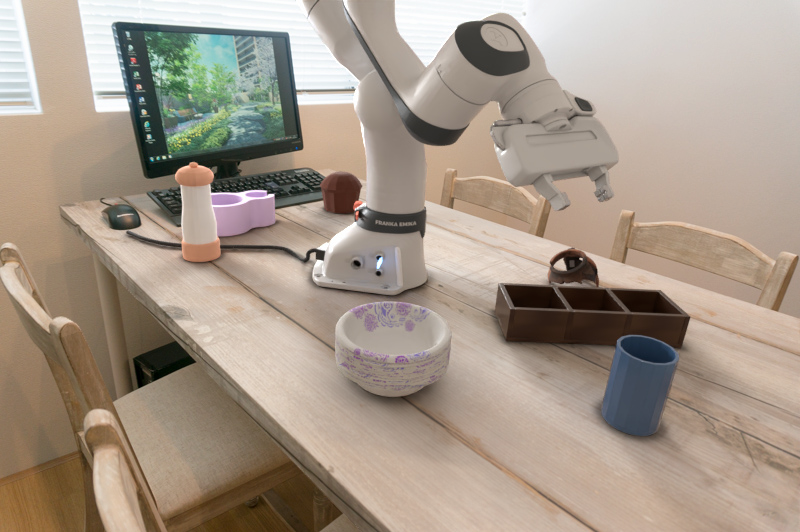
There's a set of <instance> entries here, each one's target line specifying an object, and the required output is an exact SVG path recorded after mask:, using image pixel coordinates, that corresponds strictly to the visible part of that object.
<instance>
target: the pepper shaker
mask: <svg viewBox="0 0 800 532" xmlns="http://www.w3.org/2000/svg"><path fill="white" fill-rule="evenodd" d="M174 175H175V176H174V178H175V181H176V183H177V184H178V185H180V194H181V220H180V221H181V222H180V225H181V234H182V239H181V244H182V248H181V251H182V253H181V254H182V258H183V260H185V261H188V262H192V263H206V262H210V261H211V262H212V261H215V260H216V259H218V258H220V257H221V249H220V245H221V241H220V238H219V236H217V222H216V218H215V214H214V210H213V206H212V199H211V193H212V189H211V184H212V183H213V181H214V178H215V175H214V172H213V171H212V169H210V168H208V167H206V166H204V165H199V163H198V162H195V161H192V162H189V164H188V165H185V166H182V167H180V168H178V169H177V171H176V172H175V174H174Z"/></svg>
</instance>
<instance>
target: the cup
mask: <svg viewBox="0 0 800 532" xmlns="http://www.w3.org/2000/svg"><path fill="white" fill-rule="evenodd" d="M679 362H680V355H679V352H678V351H677V350H676V348H673V347H671V346H670V345H668V344H666V343H665V342H662V341H660V340H657V339H654V338H651V337H647V336H642V335H627V336H622V337H621V338H619V339H618V340H617V343H616V345H615V348H614V352H613V356H612V360H611V363H610V364H611V365H610V369H609V373H608V376H607V381H606V385H605V390H604V392H603V393H604V394H603V397H602V402H601V408H600V414H601V416H602V418H603V420H605V422H606V423H607V424H608V425H609V426H611V427H612V428H614V429H616V430H617V431H620V432H622V433H625V434H627V435H631V436H636V437H647V436H651V435H653V434H655V433H657V432H658V430H659V428H660V426H661V423H662V419H663V416H664V412H665V409H666V407H667V402H668V399H669V397H670V392H671V389H672V385H673V383H674V379H675V375H676V372H677V368H678V365H679Z"/></svg>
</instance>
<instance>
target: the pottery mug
mask: <svg viewBox="0 0 800 532" xmlns="http://www.w3.org/2000/svg"><path fill="white" fill-rule="evenodd" d="M560 260H562V261H563V264H564V265H565V270H559V269H556V268H555V267H554V266H555V264H557V262H559V261H560ZM549 264H550V266H549V269H548V272H547V280H548V281H547V282H548V284H552V283H555V284H560V285H565V284H573V283H578V284H583V281H590V282H592V283H594V284H595V287H599V286H600V278H599V274H598V273H599V271H598V267H597V264H596V263H595V261H594V260H593V259H592V258H591V257H590V256H588V255H587V254H586V252H584V251H582V250H581V249H576V248H575V247H570V248H567V249H564V250H562V251H559V252H557V253H556V254H555V255H554V256H553V257H551V258H550V260H549Z"/></svg>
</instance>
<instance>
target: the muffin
mask: <svg viewBox="0 0 800 532" xmlns="http://www.w3.org/2000/svg"><path fill="white" fill-rule="evenodd" d="M319 187H320V189H321V194H322V196H321V197H322V201H323V208H324V209H325V210H326V212H329V213H333V214H343V215H344V214H351V213H355V211H354V208H353V207H354V203H356V201H360V196H361V190H362V189H363V184H362V183H361V181H360V179H359V178H358V177H357V176H356V175H355V174H353V173H351V172H348V171H340V170H339V171H335V172H332V173H329V174H328V175H327V176H325V177H324V178H323V179H322V181H321V182H320V184H319Z"/></svg>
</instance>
